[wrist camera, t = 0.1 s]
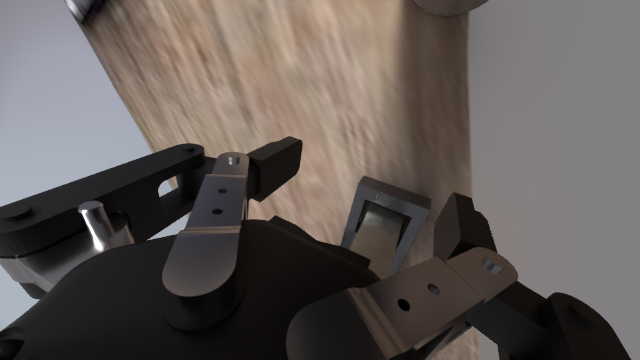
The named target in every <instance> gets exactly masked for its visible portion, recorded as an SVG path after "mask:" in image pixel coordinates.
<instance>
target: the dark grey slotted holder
mask: <svg viewBox="0 0 640 360" xmlns="http://www.w3.org/2000/svg"><path fill="white" fill-rule="evenodd" d="M366 200H368V201H371V202H374V203H376V204H379V205H381V206H384V207H386V208H389V209H392V210H394V211H397V212H399V213H402V214H404V215H407V216H410V217H409V219H408V221H407V223H406V225H405V227H404V229H403V231H402V233H401V235H400V238H399V239H398V242H397V246H396V250H395V254H394V258H393V263H392V267H391V271H390V275H389V277H390V276H392V275H394V274H396V273H397V271H398V269H399V267H400V266H401V264H402V262H403V260H404V258H405V256H406V254H407V253H408V251H409V249H410V247H411V245H412V243H413V241H414V239H415V238H416V236H417V234H418V232H419V230H420V228H421V226H422V224H423V223H424V221H425V219H426V217H427V215H428V213H429V211H430V205H431V199H428V198H425V197H423V196H420V195H417V194H414V193H411V192H409V191H406V190H403V189H400V188H397V187H395V186H392V185H389V184H386V183H383V182H381V181H378V180H375V179H372V178H369V177H367V176H363V177H362V179H361V180H360V182H359V184H358V187H357V190H356V194H355V197H354V201H353V204H352V208H351V211H350V215H349V218H348V222H347V225H346V229H345V232H344V235H343V239H342V242H341V246H340V247H344V248H347V249H349V250H350V248H351V246H352V244H353V241H354V239H355V237H356V235H357V233H358V231H359V229H360V227H361V224H362V223H360V218H361V215H362V212H363V209H364V206H365V203H366Z"/></svg>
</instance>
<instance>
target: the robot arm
mask: <svg viewBox="0 0 640 360" xmlns="http://www.w3.org/2000/svg"><path fill="white" fill-rule="evenodd" d="M413 1H414V2H415V3H416V4H417V5H418V6H419V7H420V8H421V9H423V10H425V11H426V12H428V13H431V14H434V15H438V16H454V15H458V14H463V13H466V12H468V11H471V10H473V9H475V8H477V7H479V6H481V5H482V4H484V3H485V2H487V1H488V0H413ZM302 145H303V144H302V140H299V139H296V138H293V137H290V136H288V137H286V138H284V139H282V140H280V141H277V142H271V143H269V144H267V145H265V146H262V147H260V148H259V149H256V150H254V151H252V152H250V153H248V154H246V155H245V154H243V153H239V152H227V153H223V154H221V155H219V156H218V158H212V157H207V156H205V152H204V147H202V146H201V145H198V144H190V143H187V144H179V145H176V146H173V147H170V148H167V149H165V150H162V151H159V152H156V153H153V154H151V155H147V156H145V157H142V158H139V159H136V160H133V161H130V162H128V163H125V164H122V165H119V166H116V167H113V168H110V169H107V170H105V171H102V172H99V173H96V174H93V175H90V176H88V177H85V178H82V179H79V180H76V181H73V182H70V183H68V184H65V185H62V186H59V187H56V188H53V189H51V190H48V191H45V192H42V193H39V194H36V195H33V196H30V197H28V198H25V199H22V200H19V201H16V202H13V203H11V204H8V205H5V206H2V207H0V264H1V266H2V267H3V268H4V269H5V270H6V271H7V273H8V274H9V275H10V276H11V277H12V279H13V280H15V281H16V282H19V284H20V285H21V286H22V287H23V288H24V289H25V291H26V292H27V293H28V294H29V295H30V296H31V297H32V298H34V299H40V300H39V301H38V302H37V303H36V304H35V305H34V306H33V307H31V308H30V309H29V310H28V311H27V312H25V313H24V314H23V315H22V316H21V317H19V318H18V319H17V320H16V321H14V322H13V323H11V324H10V325H9V326H7V327H6V328H5V329H3V330H2V331H0V360H430V359H431V358H432V357H434V356H435V355H436V354H437V353H438V352H439V351H440V350H442V349H443V348H444V347H446V346H447V345H448V344H450V343H451V342H452V341H454V340H455V339H456V338H458V337H459V336H460V335H462V334H463V333H464V332H466V331H467V330H468V329H470V328H471V327H472V326H473V327H475V328H476V329H477V330H479V331H480V332H481V333H483V334H484V335H485V336H487V337H488V338H489V339H490V340H492V341H493V342H494V343H496V344H497V345H498V352H499V359H500V360H631V359H630V357H629V355H628V354H627V352H626V350H625V349H624V347H623V345H622V343H621V342H620V340H619V338H618V337H617V335H616V333H615V332H614V330H613V328H612V327H611V326H610V325H609V323H608V322H607V321H606V320H605V319H604V318H603V317H602V316H601V315H600V314H599V313H597V312H596V311H595V310H594V309H592V308H591V307H590V306H588V305H587V304H585V303H584V302H582V301H580V300H578V299H577V298H575V297H572V296H570V295H568V294H564V293H558V292H556V293H553V294H552V295H550V296H549V297H548V298H547V299H546V298H544V297H542V296H541V295H539V294H537V293H536V292H534V291H532V290H531V289H529V288H527V287H526V286H524V285H522V284H521V283H520V282H518V281H517V280H518V273H517V271H516V269H515V268H514V266H513V265H512V264H511V263H510V262H509V261H508V260H507V259H505V258H504V257H503V256H501V255H500V254H498V253H497V250H496V246H495V243H494V240H493V237H492V236H491V235H492V233H491V231H490V227H489V224H488V221H487V219H486V218H485V217H484V216H483V215H482V214H481V213H480V212H478V211H475V209H474V205H473V201H472V198H470V197H467V196H464V195H461V194H458V193H455V192H453V193H452V194H451V196H450V197H449V199H448V201H447V203H446V204H445V206H444V208H443V210H442V212H441V213H440V215H439V217H438V219H437V221H436V224H435V228H434V253H433V258H431V259H429V260H427V261H424V262H422V263H420V264H417V265H415V266H413V267H411V268H408V269H406V270H404V271H401V272H399V273H397V274H394V275H392V276H390V277H388V278H385V279H383V280H381V279H380V278H379V277H378V276H377V275H376V274H375V273H374V272H373V271H372V270H370V269H369V268H368V267H369V265H370V262H371V259H368V258H366V257H364V256H362V255H360V254H358V253H355V252H353V251H351V250H349V249H347V248H344V247H340V246H336V245H332V244H328V243H324V242H320V241H317V240H315V239H314V238H313V237H311V236H310V235H309V234H307V233H306V232H305V231H303V230H302V229H301V228H299V227H298V226H297V225H295V224H293V223H291V222H288V221H286V220H284V219H282V218H280V217H278V216H276V215H275V216H274V217H273V218H272V219H271V220H269V221H266V220H257V219H251V220H248V212H249V200H250V199H251V198H252V199H254V200H256V201H258V202H261V201H263V200H264V199H265V198H266V197H268V196H269V195H270V194H272V193H273V192H274V191H275V190H277V189H278V188H279V187H281V186H282V185H283V184H284V183H286V182H287V181H288V180H289V179H291V178H292V177H293V176H295V175H296V173H297V172H298V170H299V167H300V160H301V153H302ZM174 176H176V179H177V184H178V188H176V189H174V190H173V191H171V192H169V193H167V194H165V195H163V196H161V197H159V194H158V188H159V186H160V184H161V183H162V182H163V181H165V180H168V179H170V178H172V177H174ZM190 211H191V214H190V217H189V219H188V222H187V224H186V227H185V229H184V230H181V231H180V232H179V233H178V234H176V235H171V236H166V237H162V238H157V239H152V240H148V239H150V238H151V237H152V236H154V235H155V234H157V233H159V232H160V231H162V230H163V229H165V228H166V227H168V226H169V225H171V224H172V223H174V222H175V221H177V220H178V219H180V218H181V217H183V216H184V215H186V214H187V213H189V212H190ZM146 240H148V241H146Z"/></svg>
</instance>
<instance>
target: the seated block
mask: <svg viewBox="0 0 640 360" xmlns="http://www.w3.org/2000/svg"><path fill="white" fill-rule="evenodd" d="M403 216H404V214H402V213H399V212H397V211H394V210H392V209H389V208H386V207H384V206H381V205H379V204H376V203H374V202H372V203H371V205H370V207H369V210H368V212H367V214H366V216H365V218H364V220H363V222H362V224H361V227H360V229H359V231H358V233H357V235H356V237H355V239H354V241H353V244H352V246H351V248H350V250H351V251H353V252H355V253H358V254H360V255H362V256H364V257H366V258H368V259H371V262H370V265H369V267H368V268H369V269H370V270H372V271H373V272H374V273H375V274H376V275H377V276H378V277H379V278H380V279H381V280H383V279H385V278H388V277H389V275H390V271H391V267H392V263H393V258H394V254H395V250H396V246H397V242H398V237H399V233H400V229H401V225H402V221H403Z"/></svg>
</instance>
